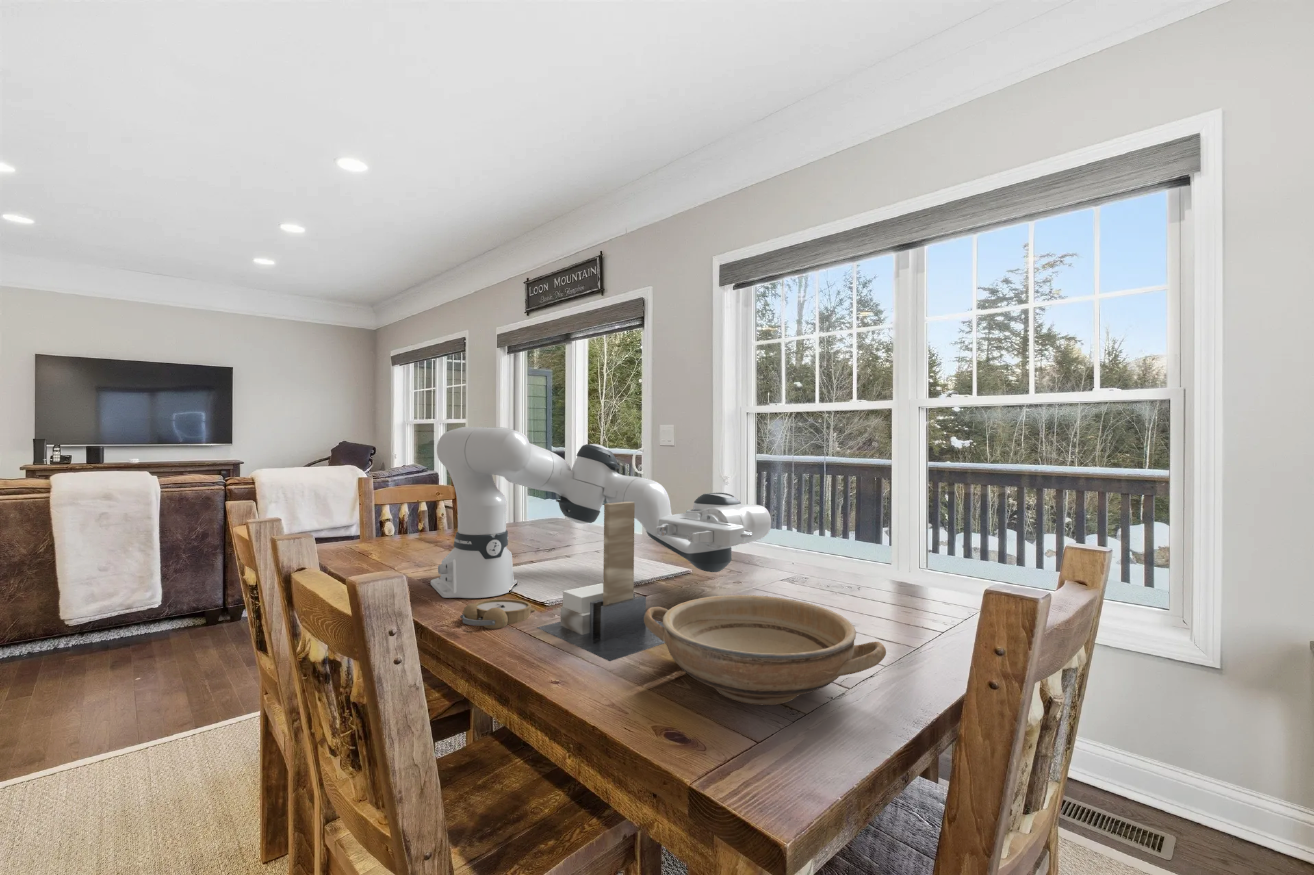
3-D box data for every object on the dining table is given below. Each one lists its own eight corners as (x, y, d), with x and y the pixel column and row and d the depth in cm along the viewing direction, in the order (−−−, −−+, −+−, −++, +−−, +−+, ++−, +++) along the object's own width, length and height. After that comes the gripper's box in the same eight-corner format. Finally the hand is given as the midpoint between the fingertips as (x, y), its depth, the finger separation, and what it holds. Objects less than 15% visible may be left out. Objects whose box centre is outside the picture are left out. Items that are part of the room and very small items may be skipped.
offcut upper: (562, 606, 113) (563, 591, 113) (603, 597, 120) (604, 582, 120) (581, 614, 109) (581, 597, 109) (622, 603, 116) (623, 588, 116)
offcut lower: (560, 625, 113) (560, 607, 113) (609, 613, 121) (609, 596, 121) (582, 634, 108) (582, 615, 108) (631, 621, 116) (632, 603, 116)
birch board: (602, 634, 108) (604, 503, 108) (627, 627, 112) (629, 501, 112) (608, 636, 107) (609, 504, 107) (633, 629, 111) (634, 502, 111)
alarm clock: (543, 604, 121) (493, 610, 108) (540, 628, 120) (490, 638, 107) (500, 596, 126) (448, 601, 113) (497, 620, 125) (444, 628, 112)
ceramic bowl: (600, 697, 85) (601, 627, 85) (681, 637, 111) (682, 583, 110) (872, 764, 68) (873, 678, 68) (894, 675, 94) (895, 612, 94)
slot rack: (536, 632, 112) (537, 595, 112) (618, 611, 125) (618, 578, 125) (609, 667, 96) (610, 624, 96) (694, 638, 109) (694, 601, 109)
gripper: (757, 549, 121) (712, 558, 111) (684, 536, 136) (640, 543, 126) (757, 518, 121) (712, 525, 111) (685, 508, 136) (640, 513, 126)
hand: (673, 534), depth 119 cm, fingers open, 8 cm apart
